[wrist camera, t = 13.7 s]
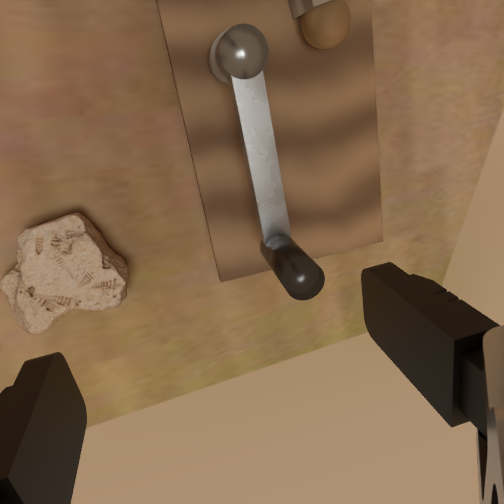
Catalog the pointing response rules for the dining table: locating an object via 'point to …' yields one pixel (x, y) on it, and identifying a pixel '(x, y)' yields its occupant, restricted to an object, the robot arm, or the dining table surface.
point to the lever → (264, 159)
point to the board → (283, 122)
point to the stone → (63, 273)
